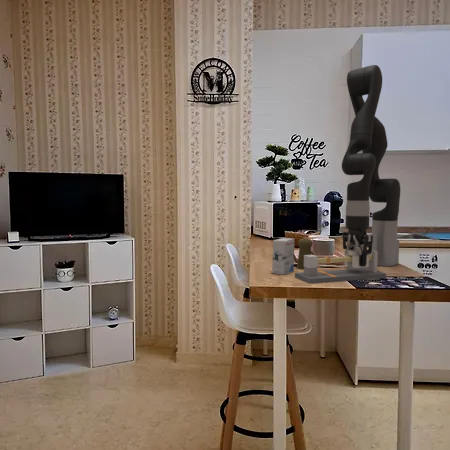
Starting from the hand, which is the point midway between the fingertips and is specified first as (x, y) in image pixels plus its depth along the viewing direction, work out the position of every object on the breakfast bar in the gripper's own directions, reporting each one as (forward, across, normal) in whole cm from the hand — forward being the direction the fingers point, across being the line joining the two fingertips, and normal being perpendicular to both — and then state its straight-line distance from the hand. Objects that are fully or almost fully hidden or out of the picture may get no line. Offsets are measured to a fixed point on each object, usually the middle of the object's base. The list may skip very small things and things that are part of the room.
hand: (356, 264), depth 138 cm
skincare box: (+4, +12, -8) cm, 15 cm away
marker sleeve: (+1, 0, 0) cm, 1 cm away
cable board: (+4, 0, +6) cm, 7 cm away
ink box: (+4, +14, +20) cm, 25 cm away
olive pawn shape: (+4, +19, +9) cm, 21 cm away
